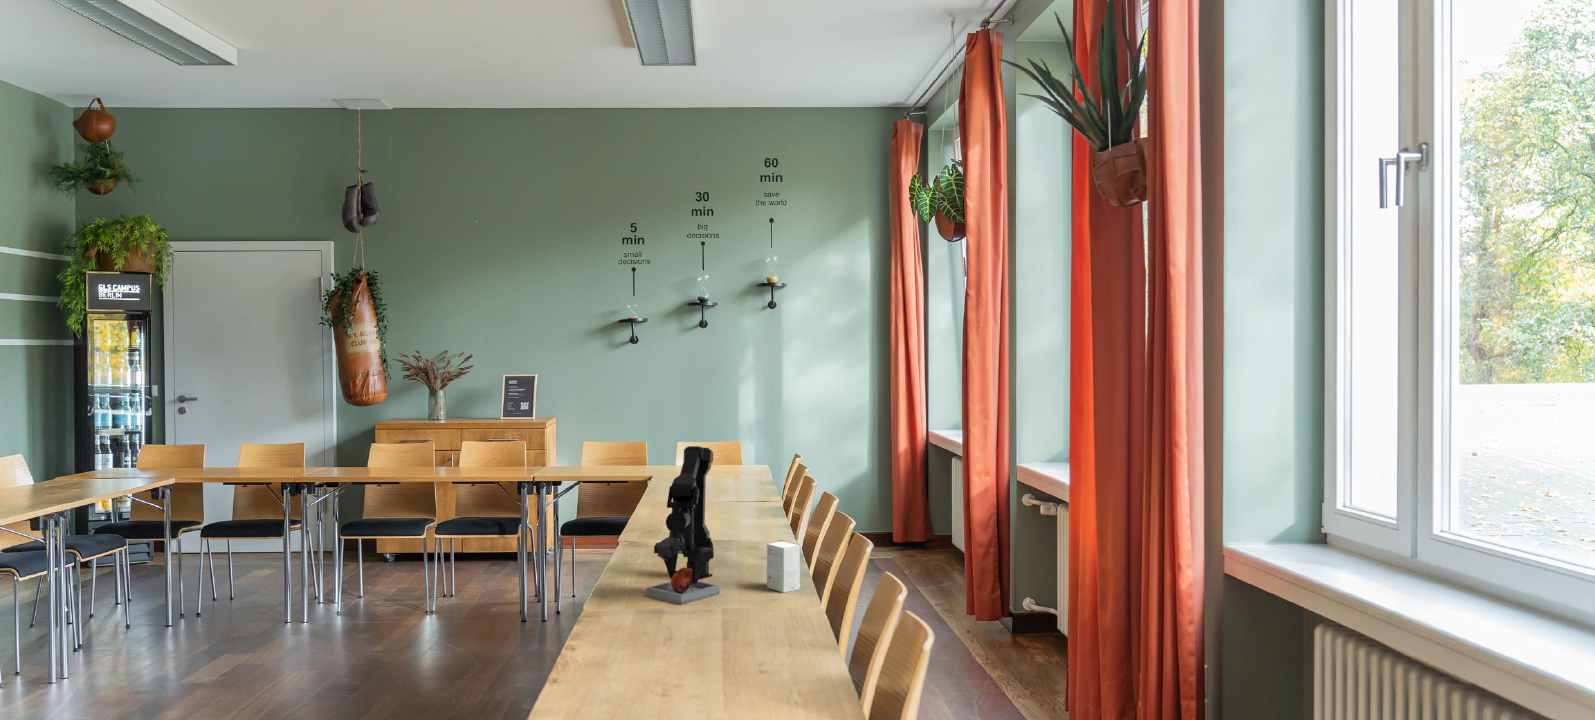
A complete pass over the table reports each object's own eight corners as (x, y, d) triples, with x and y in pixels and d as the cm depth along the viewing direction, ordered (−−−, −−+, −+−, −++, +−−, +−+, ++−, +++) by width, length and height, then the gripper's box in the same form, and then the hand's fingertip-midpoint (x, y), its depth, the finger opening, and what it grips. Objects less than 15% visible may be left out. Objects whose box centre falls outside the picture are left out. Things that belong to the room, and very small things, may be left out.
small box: (800, 589, 274) (800, 545, 274) (783, 593, 270) (783, 547, 270) (783, 584, 280) (783, 540, 280) (766, 587, 276) (766, 543, 276)
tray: (684, 586, 277) (684, 577, 277) (719, 593, 269) (719, 585, 269) (646, 596, 266) (646, 587, 266) (681, 604, 257) (681, 595, 257)
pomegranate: (698, 597, 270) (675, 573, 273) (710, 580, 267) (686, 556, 270) (682, 606, 263) (659, 581, 267) (694, 588, 260) (670, 563, 264)
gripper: (639, 526, 267) (639, 581, 267) (686, 534, 255) (685, 591, 255) (668, 520, 275) (668, 574, 275) (714, 528, 264) (714, 584, 264)
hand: (683, 581), depth 267 cm, fingers open, 9 cm apart
